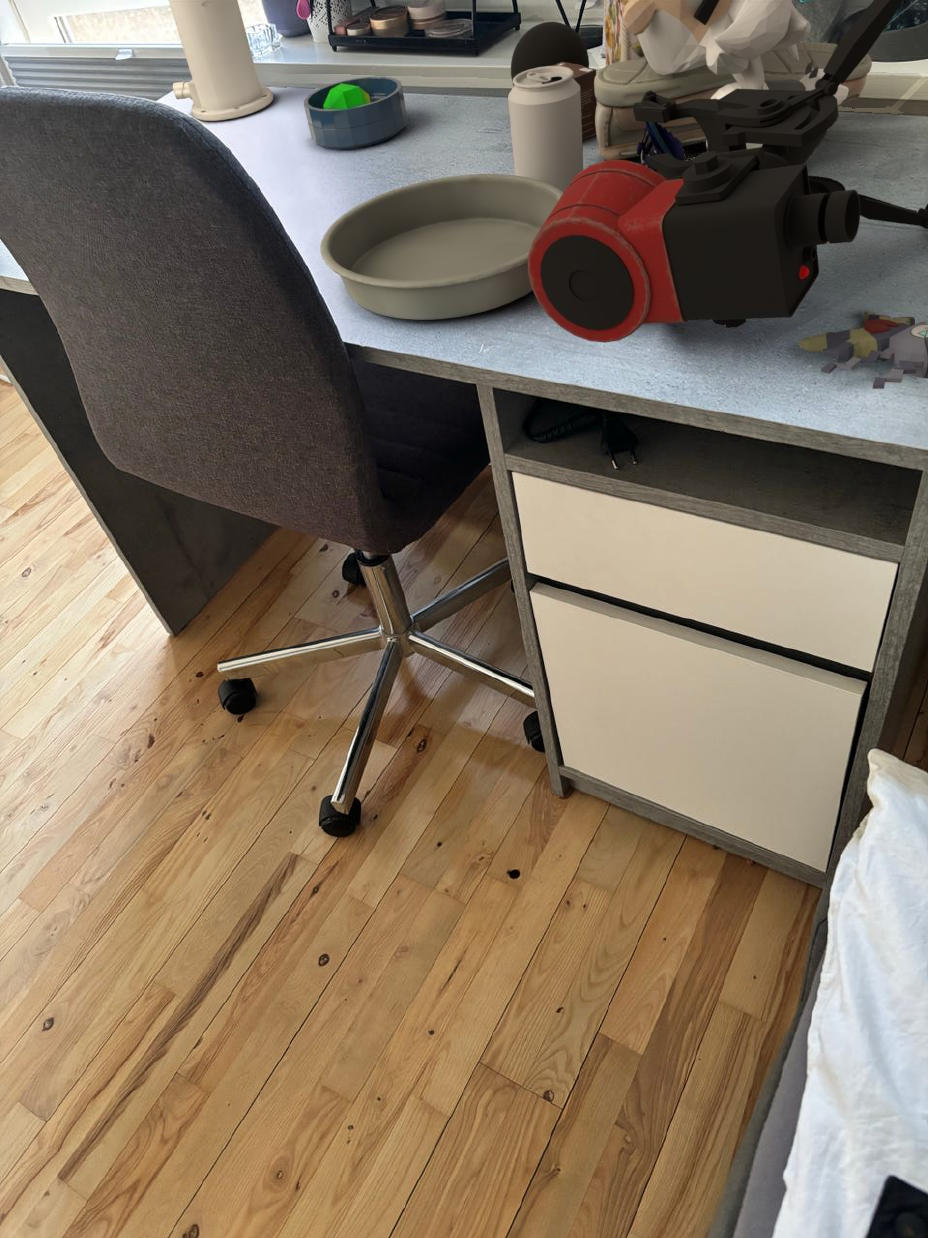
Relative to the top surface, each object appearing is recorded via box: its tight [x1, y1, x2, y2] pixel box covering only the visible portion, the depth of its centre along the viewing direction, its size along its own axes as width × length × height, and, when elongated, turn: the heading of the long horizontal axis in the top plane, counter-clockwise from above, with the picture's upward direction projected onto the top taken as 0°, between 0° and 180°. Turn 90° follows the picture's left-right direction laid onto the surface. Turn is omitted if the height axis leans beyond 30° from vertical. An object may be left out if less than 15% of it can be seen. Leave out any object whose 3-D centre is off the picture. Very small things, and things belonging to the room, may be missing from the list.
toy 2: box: [797, 310, 928, 390], centre depth 69 cm, size 15×4×15 cm
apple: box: [323, 83, 371, 109], centre depth 123 cm, size 7×6×9 cm
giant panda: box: [705, 61, 850, 152], centre depth 96 cm, size 15×6×10 cm, turn 93°
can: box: [507, 66, 584, 193], centre depth 98 cm, size 8×8×12 cm
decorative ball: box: [510, 21, 590, 87], centre depth 118 cm, size 10×10×10 cm
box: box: [553, 62, 598, 141], centre depth 111 cm, size 6×6×7 cm
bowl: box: [303, 75, 409, 150], centre depth 124 cm, size 13×13×5 cm
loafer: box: [594, 41, 873, 161], centre depth 103 cm, size 11×30×9 cm, turn 88°
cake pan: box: [319, 173, 563, 321], centre depth 90 cm, size 25×25×4 cm
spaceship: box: [637, 122, 687, 172], centre depth 100 cm, size 7×6×5 cm
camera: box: [528, 0, 928, 344], centre depth 77 cm, size 25×30×29 cm
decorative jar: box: [604, 0, 646, 67], centre depth 107 cm, size 12×12×18 cm
